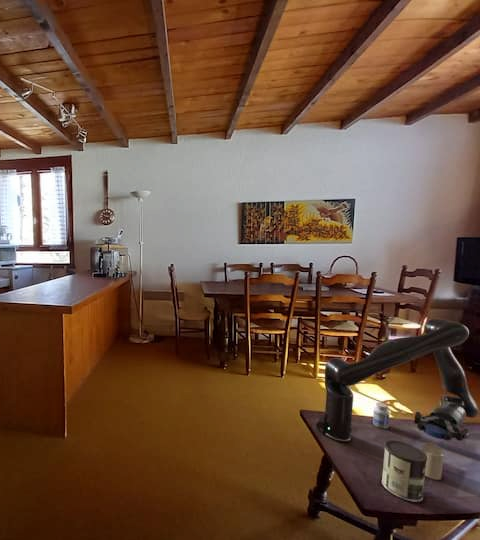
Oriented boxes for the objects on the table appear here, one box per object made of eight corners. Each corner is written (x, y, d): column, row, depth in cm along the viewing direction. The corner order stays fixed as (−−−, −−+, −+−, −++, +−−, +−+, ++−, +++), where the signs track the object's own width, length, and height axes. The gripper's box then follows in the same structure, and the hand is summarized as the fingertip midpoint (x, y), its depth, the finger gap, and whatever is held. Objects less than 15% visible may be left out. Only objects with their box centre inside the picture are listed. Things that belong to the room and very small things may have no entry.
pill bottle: (382, 422, 139) (384, 402, 138) (391, 429, 134) (393, 408, 133) (369, 421, 140) (371, 401, 139) (378, 428, 135) (380, 407, 134)
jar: (423, 476, 107) (426, 448, 106) (417, 466, 112) (419, 439, 111) (444, 482, 105) (447, 453, 104) (436, 471, 110) (439, 444, 109)
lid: (448, 435, 106) (448, 430, 106) (443, 441, 103) (444, 435, 103) (425, 426, 111) (426, 422, 111) (420, 432, 108) (421, 427, 108)
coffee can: (417, 485, 103) (421, 446, 102) (427, 507, 95) (432, 465, 93) (378, 472, 109) (381, 436, 107) (384, 493, 100) (388, 453, 99)
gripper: (474, 438, 108) (461, 455, 100) (419, 417, 121) (404, 431, 112) (476, 418, 108) (464, 433, 99) (421, 400, 120) (406, 412, 111)
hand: (432, 432), depth 105 cm, fingers closed on lid, 5 cm apart
